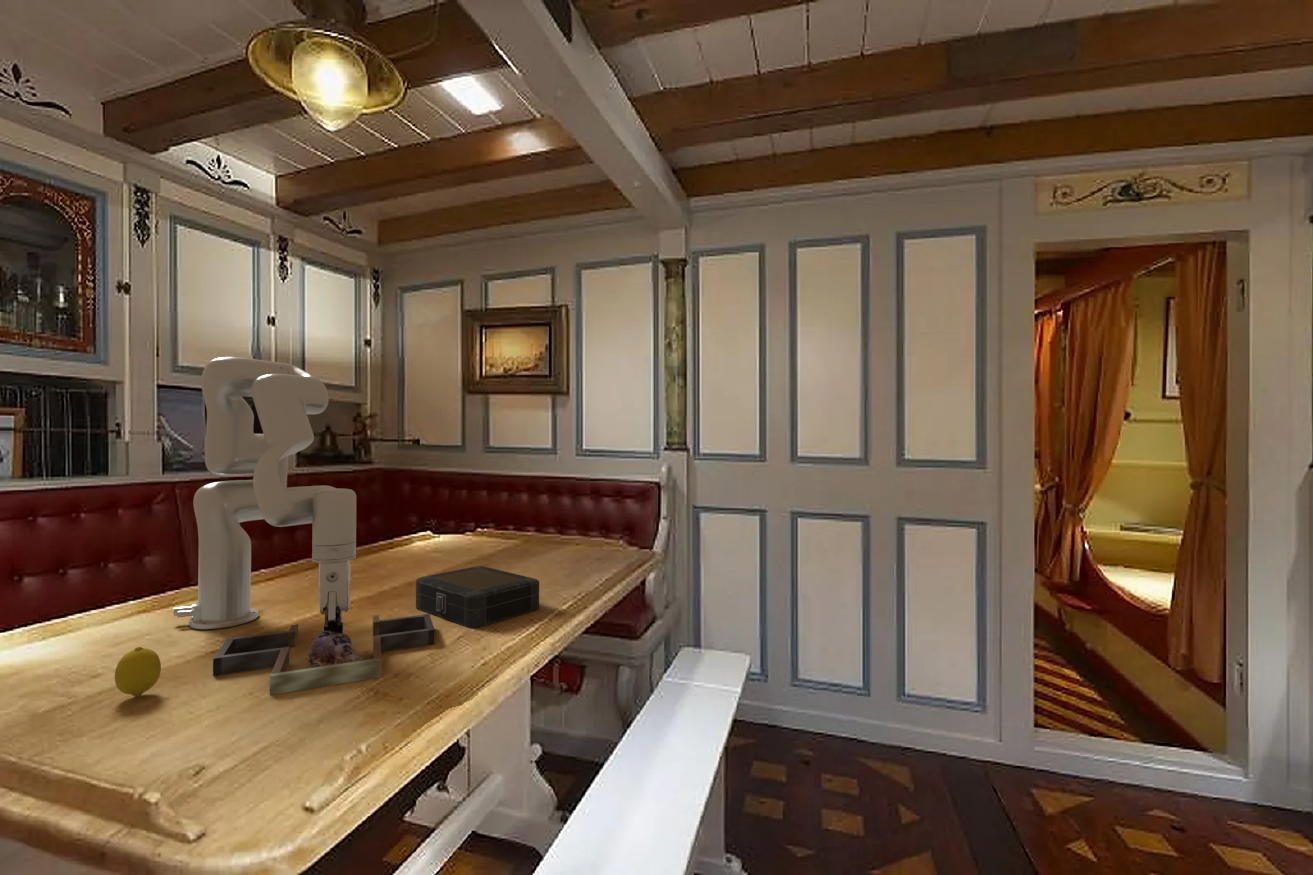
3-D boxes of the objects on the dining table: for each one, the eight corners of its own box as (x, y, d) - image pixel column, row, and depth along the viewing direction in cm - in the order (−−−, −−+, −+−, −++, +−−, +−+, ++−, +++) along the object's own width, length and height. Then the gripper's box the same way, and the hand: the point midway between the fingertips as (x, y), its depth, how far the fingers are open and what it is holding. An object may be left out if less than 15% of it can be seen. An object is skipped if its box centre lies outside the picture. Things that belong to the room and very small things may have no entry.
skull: (374, 671, 104) (375, 637, 104) (329, 685, 98) (330, 649, 98) (344, 655, 111) (344, 623, 111) (300, 667, 105) (301, 633, 105)
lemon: (168, 692, 94) (169, 643, 94) (128, 707, 89) (128, 655, 89) (146, 687, 96) (147, 639, 96) (105, 701, 91) (106, 650, 91)
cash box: (410, 609, 141) (410, 578, 141) (480, 592, 157) (481, 564, 157) (470, 631, 125) (470, 596, 125) (541, 610, 142) (542, 579, 142)
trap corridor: (192, 707, 89) (192, 687, 89) (231, 647, 114) (231, 631, 114) (441, 667, 105) (441, 651, 105) (427, 622, 130) (427, 609, 130)
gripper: (354, 557, 108) (353, 655, 108) (357, 543, 121) (355, 630, 121) (308, 560, 105) (306, 661, 105) (315, 546, 118) (314, 635, 118)
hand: (333, 644), depth 113 cm, fingers closed
